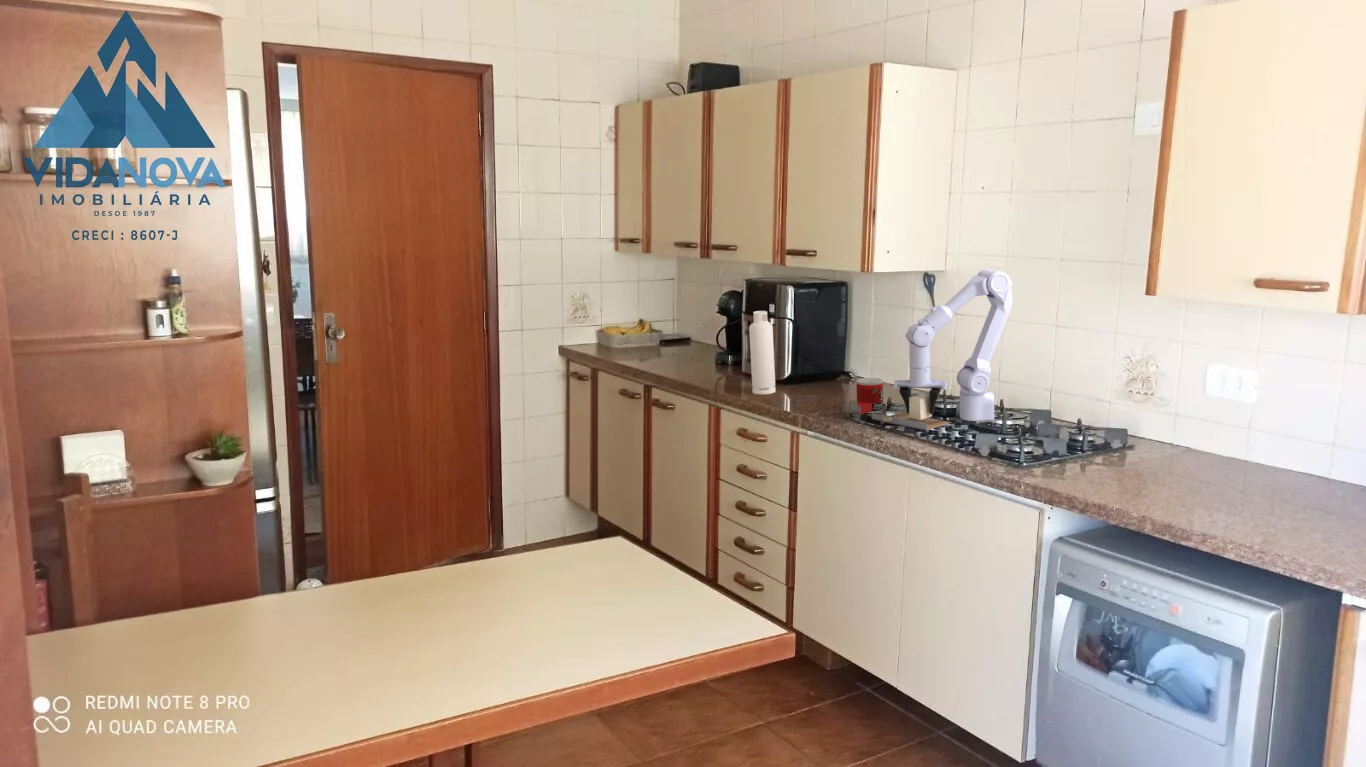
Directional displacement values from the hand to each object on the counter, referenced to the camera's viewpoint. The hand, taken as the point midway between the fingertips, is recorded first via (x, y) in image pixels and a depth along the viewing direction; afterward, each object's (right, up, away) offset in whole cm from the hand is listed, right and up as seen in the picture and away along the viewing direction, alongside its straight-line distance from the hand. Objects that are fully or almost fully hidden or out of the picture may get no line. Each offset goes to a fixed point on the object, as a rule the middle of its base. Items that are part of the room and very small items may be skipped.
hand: (920, 412), depth 270 cm
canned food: (-11, -2, +17) cm, 20 cm away
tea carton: (0, -1, 0) cm, 1 cm away
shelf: (-2, -4, +3) cm, 5 cm away
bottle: (-40, +5, +58) cm, 70 cm away
